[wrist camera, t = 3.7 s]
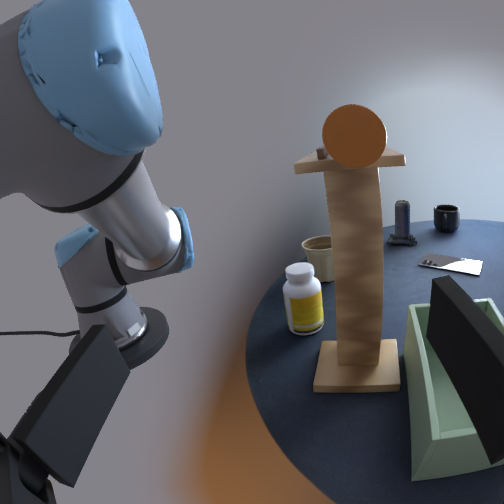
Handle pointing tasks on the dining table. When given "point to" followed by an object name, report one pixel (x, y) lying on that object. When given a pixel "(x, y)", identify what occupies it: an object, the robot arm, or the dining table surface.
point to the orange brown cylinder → (354, 136)
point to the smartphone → (451, 263)
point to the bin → (439, 405)
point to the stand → (355, 278)
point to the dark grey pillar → (402, 225)
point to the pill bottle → (303, 299)
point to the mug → (446, 218)
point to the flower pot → (320, 257)
